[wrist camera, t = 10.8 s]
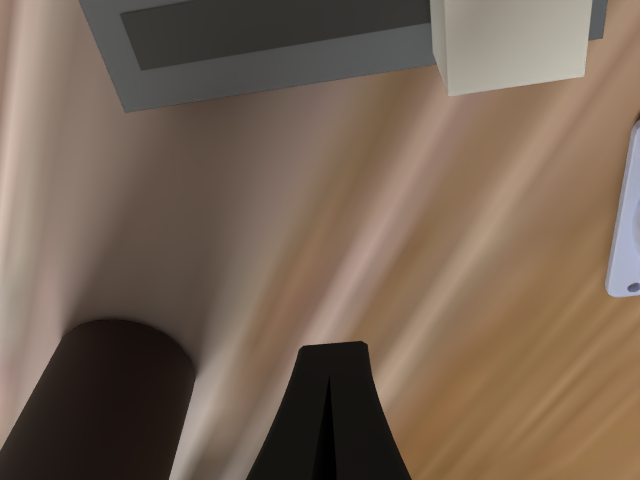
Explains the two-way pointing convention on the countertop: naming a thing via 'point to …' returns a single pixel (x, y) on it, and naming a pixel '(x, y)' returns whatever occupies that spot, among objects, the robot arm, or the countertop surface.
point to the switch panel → (257, 44)
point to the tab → (508, 42)
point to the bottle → (103, 408)
